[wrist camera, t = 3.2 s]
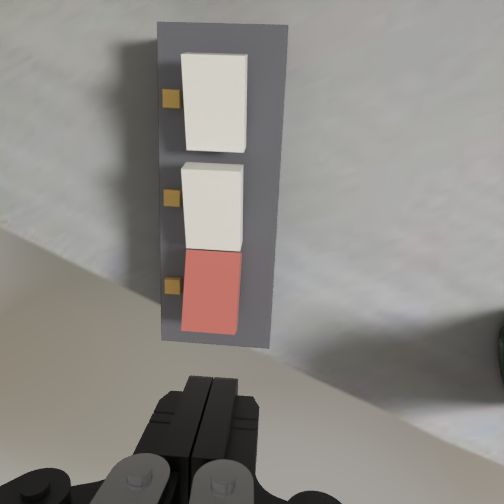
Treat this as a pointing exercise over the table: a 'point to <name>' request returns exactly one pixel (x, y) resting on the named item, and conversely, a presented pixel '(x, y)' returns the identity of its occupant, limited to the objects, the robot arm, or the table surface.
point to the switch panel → (253, 160)
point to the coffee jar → (501, 352)
